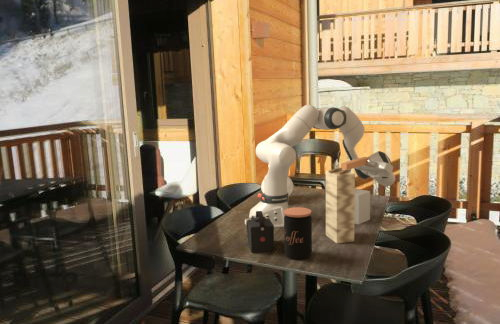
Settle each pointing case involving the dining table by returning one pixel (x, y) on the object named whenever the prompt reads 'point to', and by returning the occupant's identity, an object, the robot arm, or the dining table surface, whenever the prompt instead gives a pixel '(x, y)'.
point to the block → (354, 163)
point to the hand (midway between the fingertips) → (363, 160)
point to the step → (361, 206)
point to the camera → (260, 233)
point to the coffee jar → (298, 233)
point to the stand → (340, 205)
